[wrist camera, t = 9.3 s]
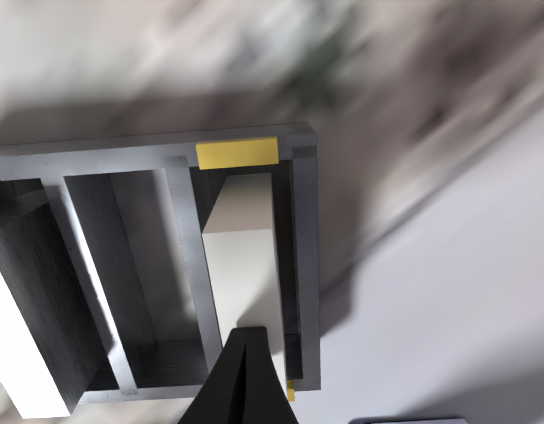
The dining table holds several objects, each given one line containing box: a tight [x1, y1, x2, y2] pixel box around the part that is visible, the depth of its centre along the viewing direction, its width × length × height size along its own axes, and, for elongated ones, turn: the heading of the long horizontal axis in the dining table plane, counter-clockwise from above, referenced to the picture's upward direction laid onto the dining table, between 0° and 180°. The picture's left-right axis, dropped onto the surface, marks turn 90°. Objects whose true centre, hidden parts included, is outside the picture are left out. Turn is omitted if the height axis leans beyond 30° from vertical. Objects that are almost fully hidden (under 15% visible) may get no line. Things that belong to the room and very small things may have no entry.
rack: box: [0, 122, 321, 418], centre depth 16 cm, size 17×15×6 cm
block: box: [202, 173, 288, 400], centre depth 16 cm, size 2×10×7 cm, turn 5°
